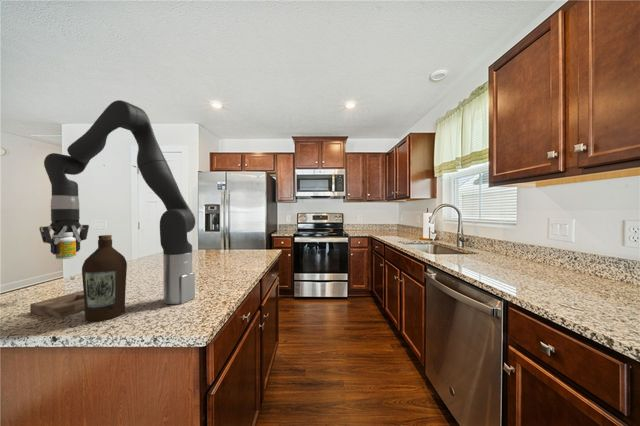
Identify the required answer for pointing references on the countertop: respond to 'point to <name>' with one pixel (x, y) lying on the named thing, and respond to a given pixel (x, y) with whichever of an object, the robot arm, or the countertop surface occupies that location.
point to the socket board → (60, 306)
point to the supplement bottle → (67, 246)
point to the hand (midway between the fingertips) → (66, 252)
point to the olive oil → (104, 282)
